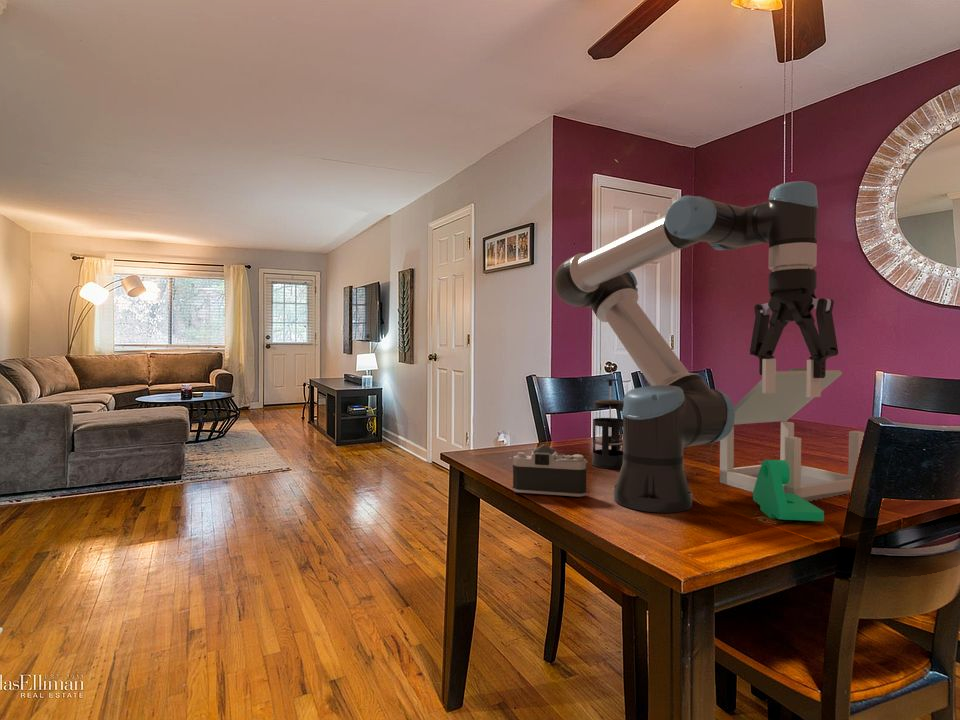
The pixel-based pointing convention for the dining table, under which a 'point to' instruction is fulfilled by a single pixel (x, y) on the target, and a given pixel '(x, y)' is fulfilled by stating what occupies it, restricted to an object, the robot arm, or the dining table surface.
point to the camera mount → (781, 494)
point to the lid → (779, 397)
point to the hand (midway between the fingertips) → (790, 394)
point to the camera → (549, 473)
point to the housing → (792, 468)
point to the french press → (608, 435)
